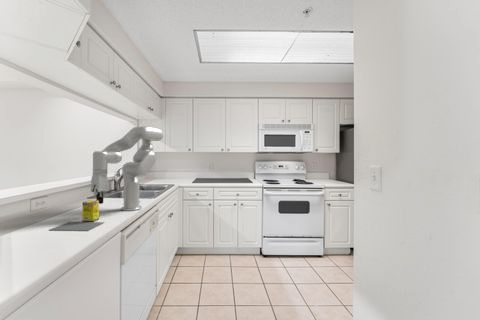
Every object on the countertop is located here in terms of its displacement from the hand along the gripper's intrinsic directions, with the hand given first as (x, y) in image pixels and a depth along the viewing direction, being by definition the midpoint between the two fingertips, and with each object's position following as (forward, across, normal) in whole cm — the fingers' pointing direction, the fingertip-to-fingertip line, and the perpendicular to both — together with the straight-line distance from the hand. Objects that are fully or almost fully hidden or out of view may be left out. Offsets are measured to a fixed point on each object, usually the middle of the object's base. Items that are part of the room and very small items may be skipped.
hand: (99, 203), depth 144 cm
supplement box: (+8, +9, 0) cm, 12 cm away
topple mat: (+8, +19, 0) cm, 21 cm away
